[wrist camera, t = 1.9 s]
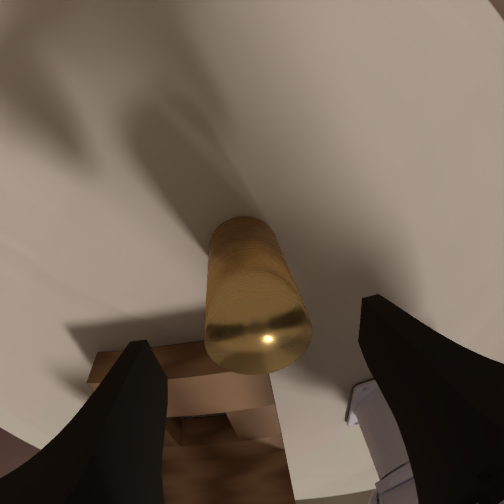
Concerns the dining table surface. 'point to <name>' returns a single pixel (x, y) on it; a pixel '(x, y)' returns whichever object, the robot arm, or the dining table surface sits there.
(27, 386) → the dining table surface
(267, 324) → the peg
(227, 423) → the socket block
